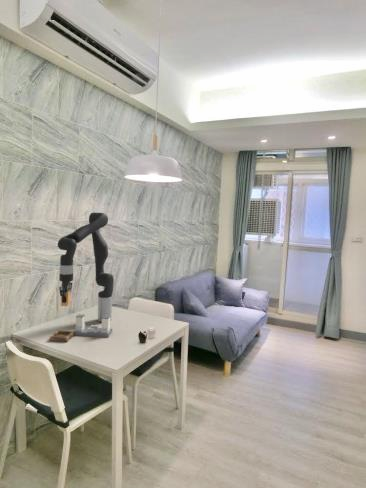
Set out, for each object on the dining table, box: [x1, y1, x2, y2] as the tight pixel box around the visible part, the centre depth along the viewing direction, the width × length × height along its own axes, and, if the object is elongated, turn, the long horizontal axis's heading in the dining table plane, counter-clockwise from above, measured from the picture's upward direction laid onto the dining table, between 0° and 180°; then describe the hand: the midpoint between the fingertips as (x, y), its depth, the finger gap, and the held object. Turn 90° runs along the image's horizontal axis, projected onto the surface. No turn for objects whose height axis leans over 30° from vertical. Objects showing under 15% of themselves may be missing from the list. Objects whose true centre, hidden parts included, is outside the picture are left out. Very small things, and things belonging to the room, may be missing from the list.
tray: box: [49, 330, 75, 343], centre depth 189 cm, size 10×10×2 cm
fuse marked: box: [60, 290, 72, 307], centre depth 187 cm, size 4×4×9 cm
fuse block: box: [73, 313, 113, 338], centre depth 198 cm, size 9×22×11 cm, turn 88°
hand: (65, 301), depth 188 cm, fingers closed on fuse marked, 4 cm apart
